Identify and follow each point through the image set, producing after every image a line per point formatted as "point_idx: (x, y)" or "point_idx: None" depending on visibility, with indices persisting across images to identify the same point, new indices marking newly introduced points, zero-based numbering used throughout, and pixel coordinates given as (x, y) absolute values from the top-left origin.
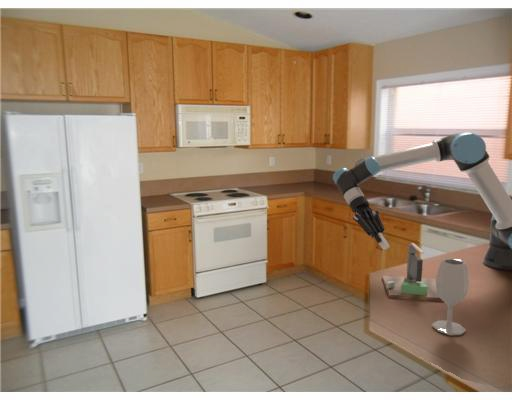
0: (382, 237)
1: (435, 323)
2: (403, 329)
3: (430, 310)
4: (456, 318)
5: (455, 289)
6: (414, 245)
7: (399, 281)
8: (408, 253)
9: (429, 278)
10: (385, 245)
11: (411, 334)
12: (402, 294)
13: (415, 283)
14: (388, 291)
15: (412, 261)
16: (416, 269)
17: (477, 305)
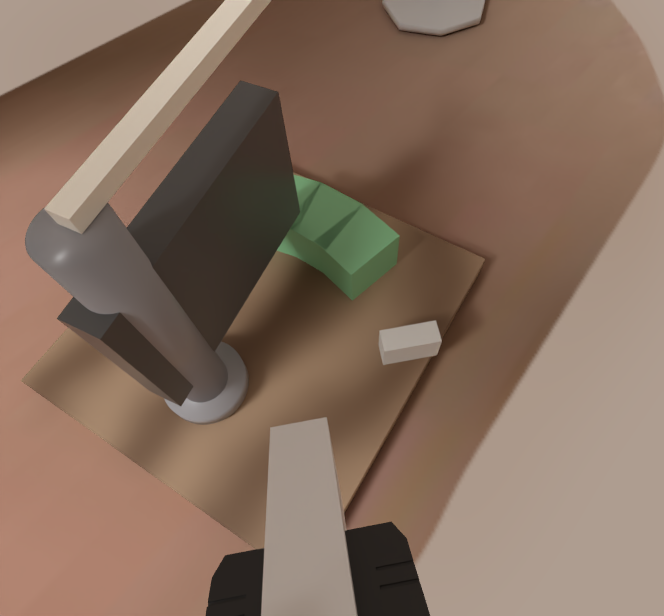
0: (314, 548)
1: (465, 16)
2: (597, 36)
3: (379, 115)
4: (336, 48)
5: None
6: (142, 126)
7: (272, 417)
8: (154, 294)
9: (37, 391)
10: (332, 450)
11: (588, 9)
12: (409, 240)
13: (303, 222)
14: (462, 298)
15: (222, 227)
16: (285, 162)
17: None
